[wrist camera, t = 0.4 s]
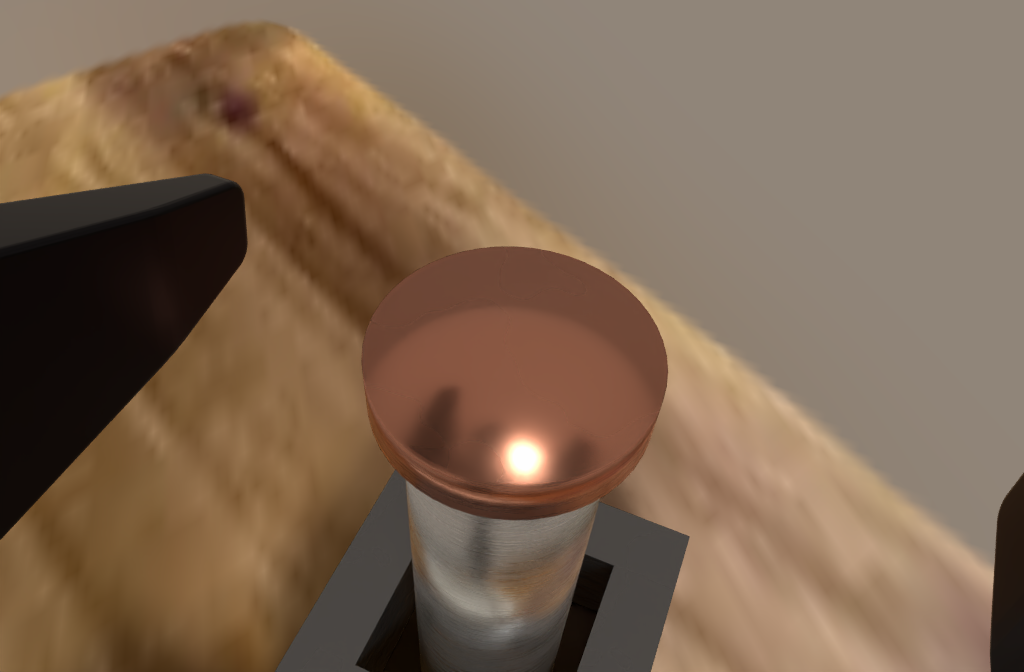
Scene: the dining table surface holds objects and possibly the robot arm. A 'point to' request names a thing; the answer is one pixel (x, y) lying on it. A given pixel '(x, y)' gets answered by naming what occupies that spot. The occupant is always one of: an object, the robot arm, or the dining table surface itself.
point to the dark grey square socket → (391, 601)
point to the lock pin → (507, 438)
